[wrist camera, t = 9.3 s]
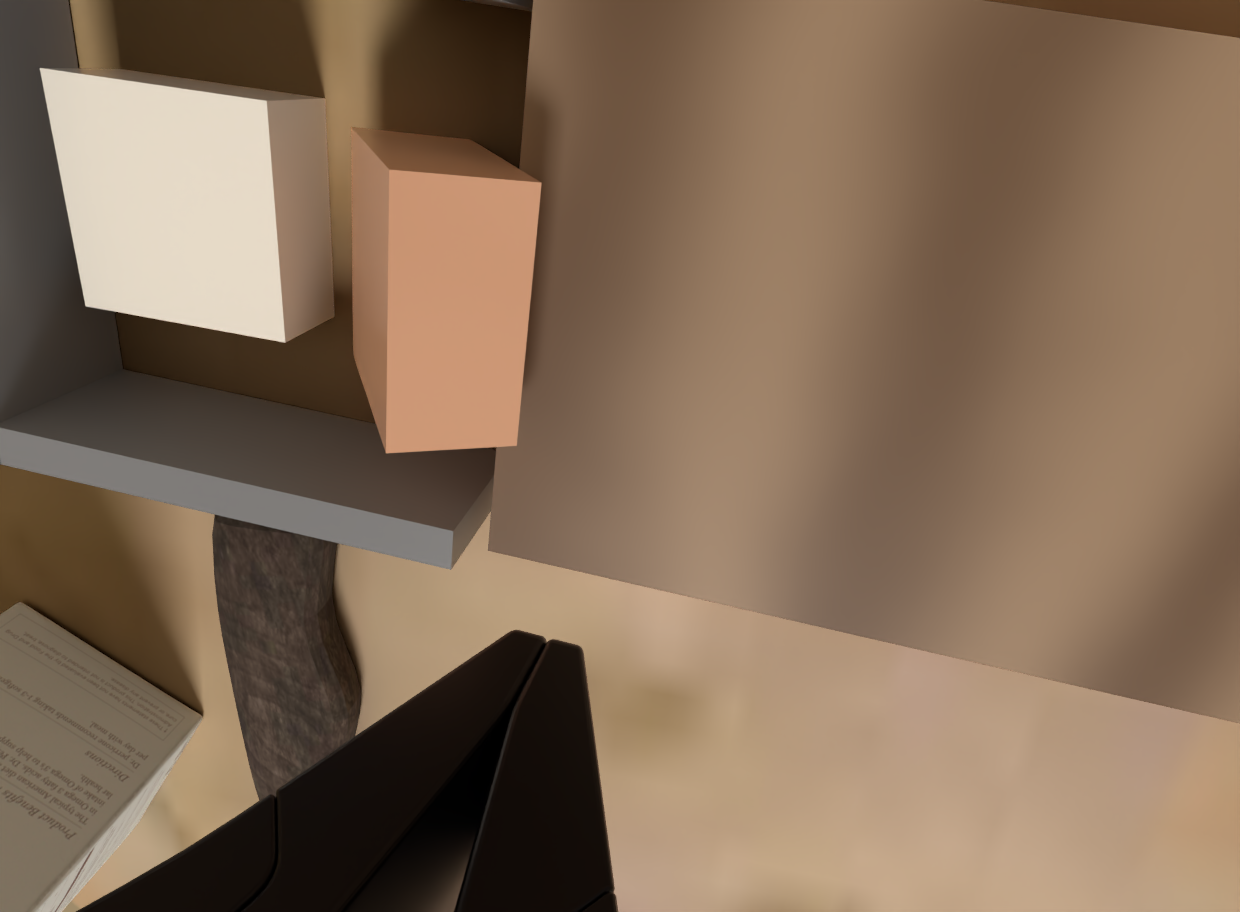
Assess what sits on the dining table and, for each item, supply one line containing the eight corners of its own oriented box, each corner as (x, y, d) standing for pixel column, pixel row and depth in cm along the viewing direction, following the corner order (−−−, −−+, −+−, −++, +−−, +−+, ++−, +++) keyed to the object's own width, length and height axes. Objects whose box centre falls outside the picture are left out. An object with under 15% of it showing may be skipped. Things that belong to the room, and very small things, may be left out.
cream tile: (39, 67, 16) (129, 69, 18) (85, 306, 18) (160, 281, 21) (266, 101, 16) (331, 98, 18) (285, 342, 18) (340, 313, 20)
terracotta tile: (541, 182, 13) (389, 170, 12) (516, 445, 16) (386, 453, 15) (470, 139, 17) (350, 126, 16) (458, 354, 20) (352, 354, 19)
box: (555, -44, 15) (488, -82, 12) (507, 486, 21) (450, 569, 17) (8, -126, 17) (-202, -182, 13) (95, 395, 22) (-37, 455, 18)
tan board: (1526, 101, 14) (1706, 106, 11) (1201, 639, 19) (1269, 730, 16) (580, -40, 15) (539, -66, 13) (525, 490, 21) (488, 550, 18)
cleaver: (175, 479, 23) (121, 514, 21) (488, 477, 21) (459, 516, 19) (395, 1059, 36) (373, 1114, 34) (606, 1094, 34) (595, 1154, 32)
